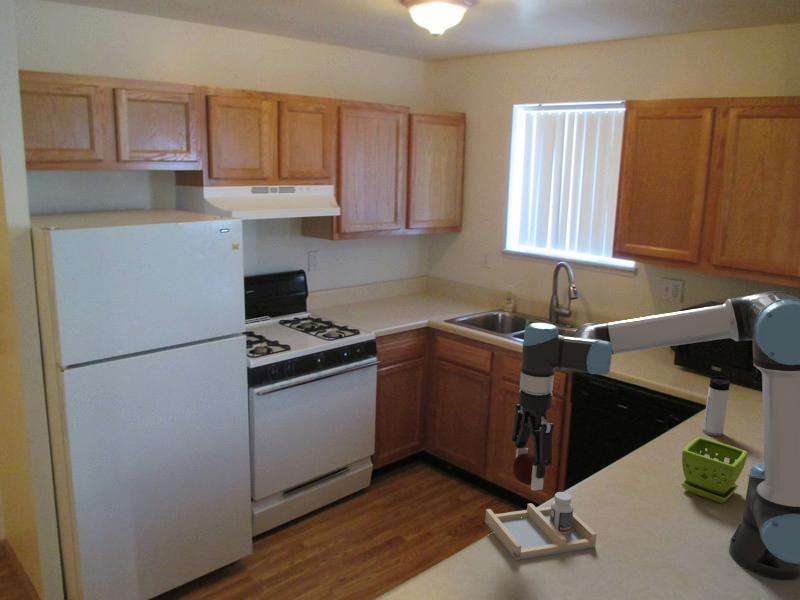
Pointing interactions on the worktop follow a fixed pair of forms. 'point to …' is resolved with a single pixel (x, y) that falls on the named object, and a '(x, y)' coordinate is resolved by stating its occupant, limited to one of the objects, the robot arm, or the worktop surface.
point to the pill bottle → (562, 512)
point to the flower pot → (712, 468)
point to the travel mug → (716, 406)
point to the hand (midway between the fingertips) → (528, 480)
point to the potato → (524, 467)
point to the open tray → (537, 533)
